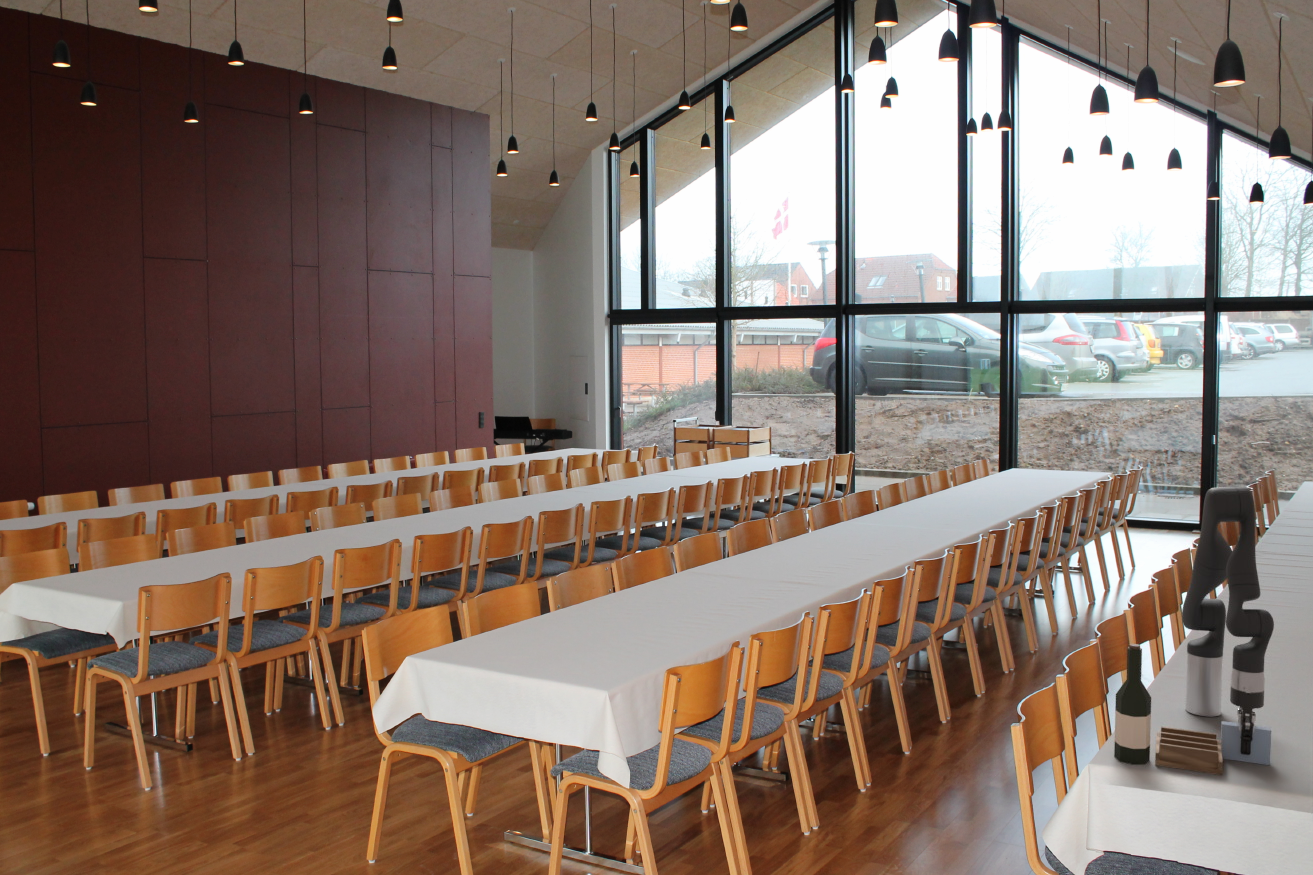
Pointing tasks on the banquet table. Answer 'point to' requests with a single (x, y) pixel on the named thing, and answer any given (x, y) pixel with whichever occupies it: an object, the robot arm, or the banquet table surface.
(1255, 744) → the light blue flat block
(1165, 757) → the rack
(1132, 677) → the wine bottle
